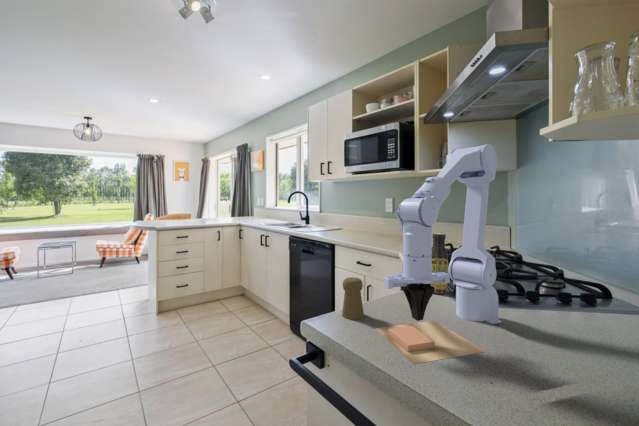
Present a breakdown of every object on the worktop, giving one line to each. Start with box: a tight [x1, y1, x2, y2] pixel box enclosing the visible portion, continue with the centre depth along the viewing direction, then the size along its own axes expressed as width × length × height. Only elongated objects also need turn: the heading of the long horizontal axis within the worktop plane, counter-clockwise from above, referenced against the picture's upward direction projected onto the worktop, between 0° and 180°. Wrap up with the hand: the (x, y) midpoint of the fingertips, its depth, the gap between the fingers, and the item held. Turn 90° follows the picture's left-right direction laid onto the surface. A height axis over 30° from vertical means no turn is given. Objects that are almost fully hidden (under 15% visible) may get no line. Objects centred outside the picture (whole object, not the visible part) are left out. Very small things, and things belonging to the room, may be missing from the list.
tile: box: [388, 326, 435, 352], centre depth 62 cm, size 1×8×6 cm
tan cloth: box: [375, 320, 487, 365], centre depth 63 cm, size 16×16×1 cm
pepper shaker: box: [341, 276, 365, 321], centre depth 77 cm, size 6×6×11 cm
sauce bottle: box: [431, 232, 449, 295], centre depth 100 cm, size 6×6×20 cm
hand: (417, 318), depth 63 cm, fingers closed
